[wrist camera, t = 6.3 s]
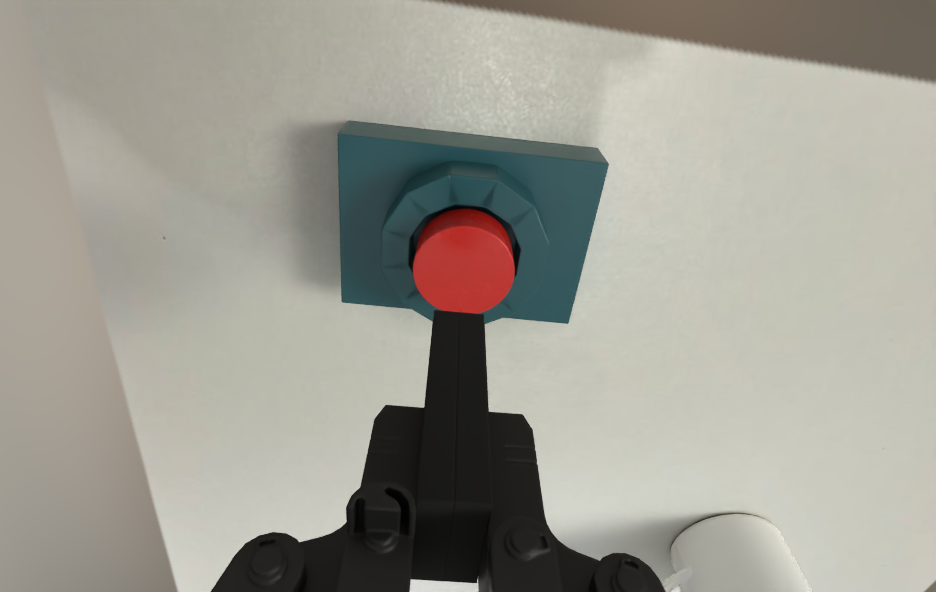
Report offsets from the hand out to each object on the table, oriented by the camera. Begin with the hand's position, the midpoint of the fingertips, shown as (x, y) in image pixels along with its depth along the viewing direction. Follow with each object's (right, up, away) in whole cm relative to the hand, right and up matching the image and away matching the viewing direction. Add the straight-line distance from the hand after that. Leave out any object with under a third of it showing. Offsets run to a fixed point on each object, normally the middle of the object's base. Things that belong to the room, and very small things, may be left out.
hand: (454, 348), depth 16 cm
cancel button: (0, +3, +6) cm, 7 cm away
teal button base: (0, +5, +9) cm, 10 cm away
